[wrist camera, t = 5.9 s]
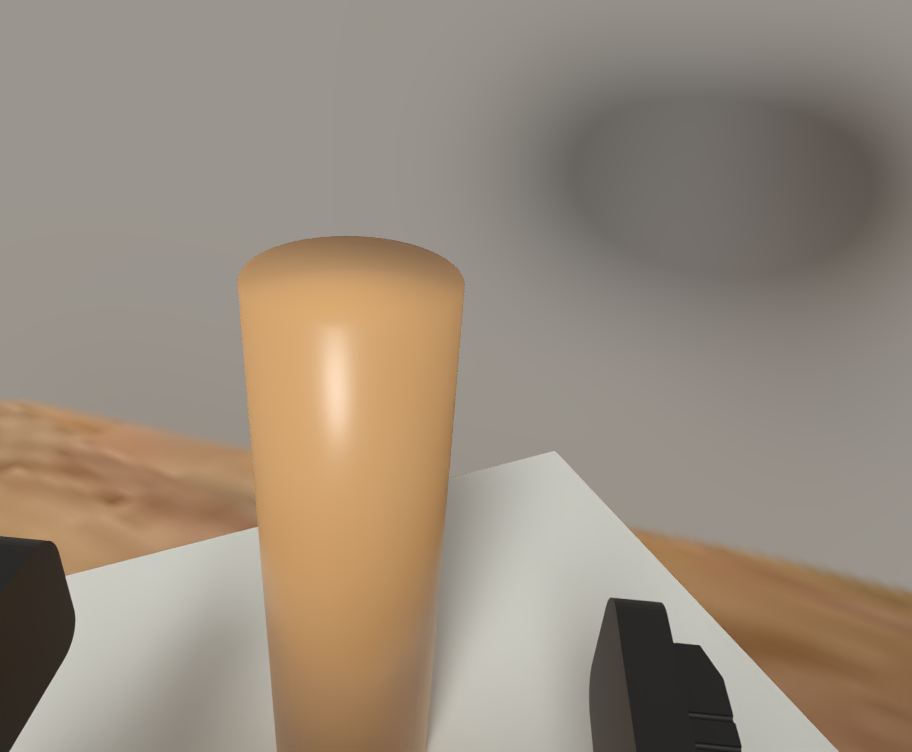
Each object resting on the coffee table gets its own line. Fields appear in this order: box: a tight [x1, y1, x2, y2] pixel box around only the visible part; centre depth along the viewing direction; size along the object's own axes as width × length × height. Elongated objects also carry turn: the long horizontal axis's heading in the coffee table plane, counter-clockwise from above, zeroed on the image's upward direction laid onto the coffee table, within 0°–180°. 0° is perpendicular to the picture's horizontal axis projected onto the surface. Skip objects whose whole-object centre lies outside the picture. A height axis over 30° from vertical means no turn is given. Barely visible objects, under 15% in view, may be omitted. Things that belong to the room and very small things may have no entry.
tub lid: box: [10, 236, 839, 752], centre depth 15 cm, size 20×15×14 cm
